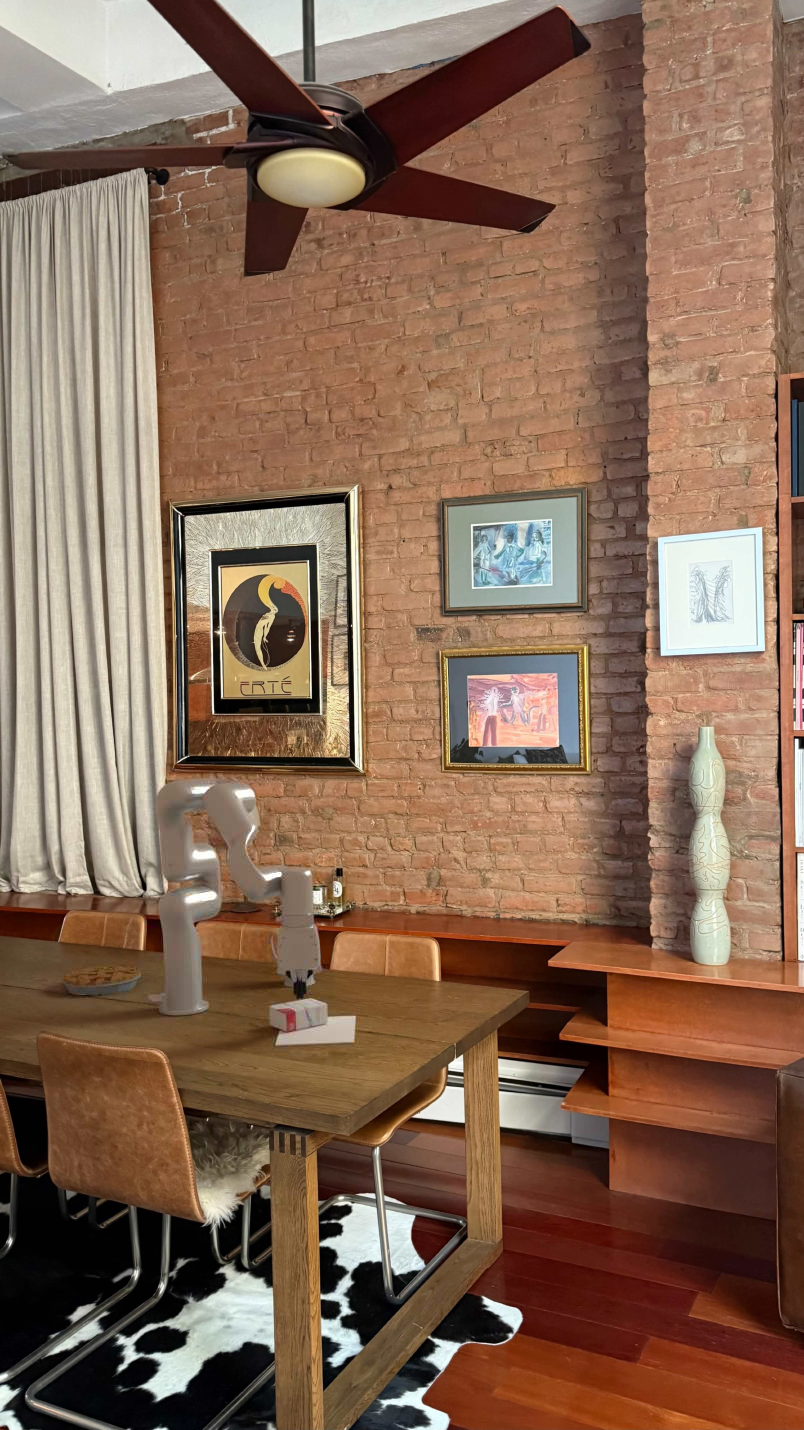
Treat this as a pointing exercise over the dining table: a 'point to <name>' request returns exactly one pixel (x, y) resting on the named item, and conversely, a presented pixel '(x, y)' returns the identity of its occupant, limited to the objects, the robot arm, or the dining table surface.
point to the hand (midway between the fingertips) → (300, 997)
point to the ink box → (298, 1014)
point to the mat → (321, 1033)
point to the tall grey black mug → (299, 972)
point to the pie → (102, 980)
